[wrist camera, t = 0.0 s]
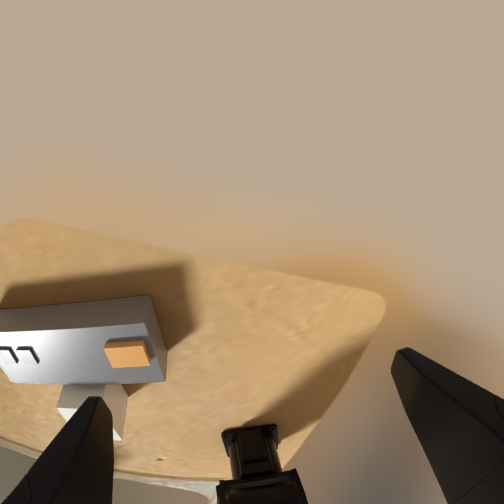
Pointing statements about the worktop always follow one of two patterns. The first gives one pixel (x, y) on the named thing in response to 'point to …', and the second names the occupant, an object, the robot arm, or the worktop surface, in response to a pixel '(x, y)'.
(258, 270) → the worktop surface
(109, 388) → the charger
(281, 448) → the worktop surface
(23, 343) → the power strip
